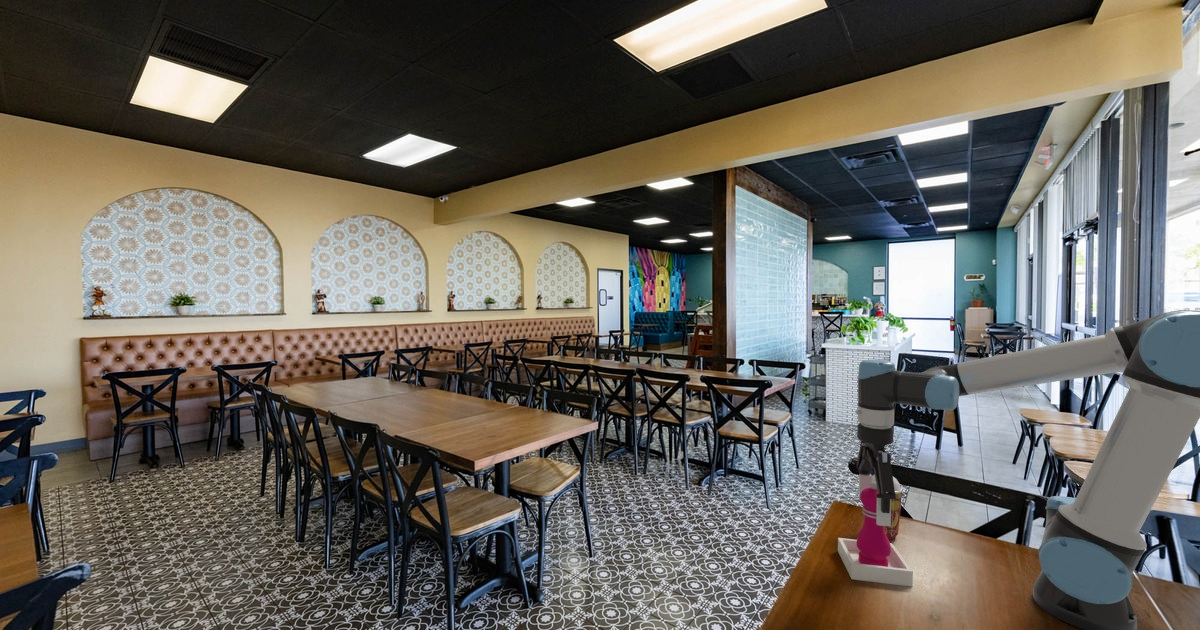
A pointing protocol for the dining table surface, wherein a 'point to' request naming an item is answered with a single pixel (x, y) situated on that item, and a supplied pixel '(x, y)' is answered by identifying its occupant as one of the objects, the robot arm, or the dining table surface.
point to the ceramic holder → (892, 574)
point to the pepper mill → (872, 532)
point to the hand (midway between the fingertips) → (873, 512)
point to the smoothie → (893, 511)
